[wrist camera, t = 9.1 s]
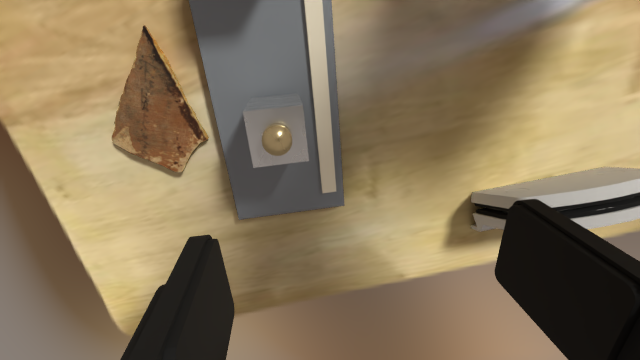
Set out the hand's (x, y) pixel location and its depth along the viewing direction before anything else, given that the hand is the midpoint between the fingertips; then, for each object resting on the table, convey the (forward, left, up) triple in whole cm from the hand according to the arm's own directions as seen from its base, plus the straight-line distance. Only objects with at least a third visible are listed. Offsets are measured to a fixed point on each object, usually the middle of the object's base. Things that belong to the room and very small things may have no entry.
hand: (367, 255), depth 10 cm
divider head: (-1, -3, -19) cm, 20 cm away
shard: (-2, -15, -22) cm, 27 cm away
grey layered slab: (+11, +26, -22) cm, 36 cm away
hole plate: (-5, -3, -21) cm, 22 cm away
